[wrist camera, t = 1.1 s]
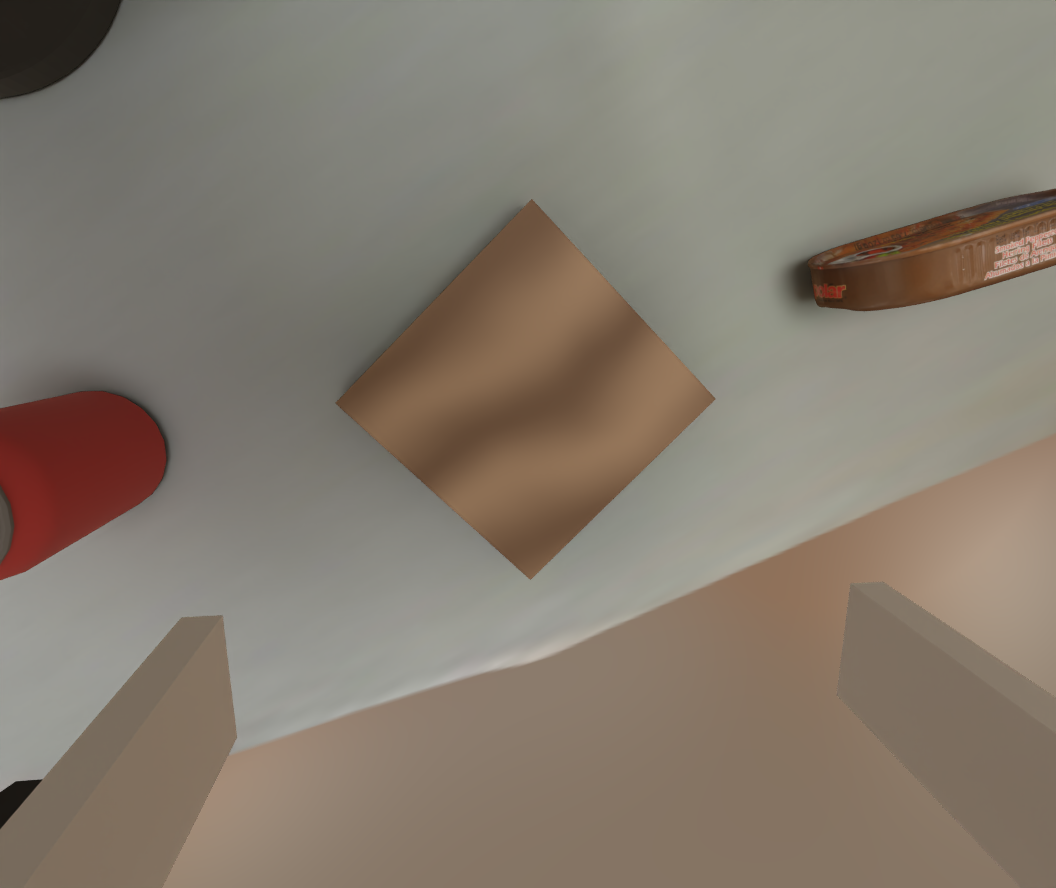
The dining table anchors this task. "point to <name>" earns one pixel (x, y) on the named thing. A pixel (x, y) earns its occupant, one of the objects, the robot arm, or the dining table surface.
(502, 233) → the podium
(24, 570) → the beer can
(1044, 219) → the tin
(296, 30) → the dining table surface
